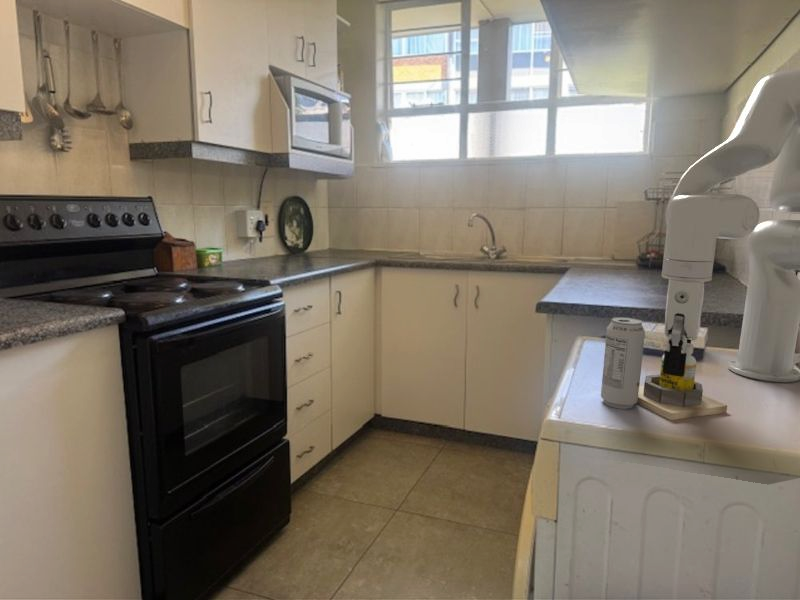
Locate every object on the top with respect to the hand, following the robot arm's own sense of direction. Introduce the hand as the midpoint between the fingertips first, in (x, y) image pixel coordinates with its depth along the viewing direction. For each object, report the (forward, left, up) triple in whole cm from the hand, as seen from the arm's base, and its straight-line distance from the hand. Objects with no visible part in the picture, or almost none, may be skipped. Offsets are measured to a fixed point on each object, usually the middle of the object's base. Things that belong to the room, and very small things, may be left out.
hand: (676, 366), depth 95 cm
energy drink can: (+9, -2, -7) cm, 12 cm away
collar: (0, 0, -7) cm, 7 cm away
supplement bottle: (0, 0, -6) cm, 6 cm away
